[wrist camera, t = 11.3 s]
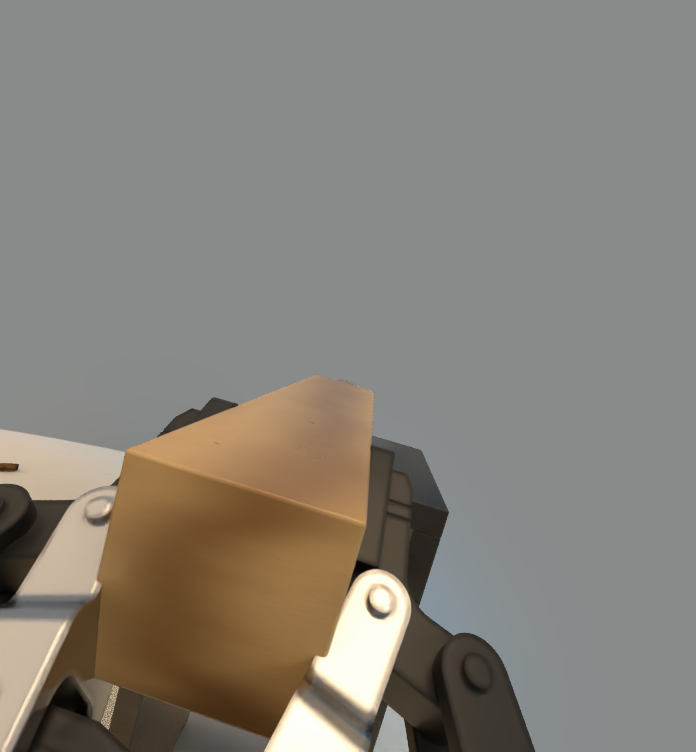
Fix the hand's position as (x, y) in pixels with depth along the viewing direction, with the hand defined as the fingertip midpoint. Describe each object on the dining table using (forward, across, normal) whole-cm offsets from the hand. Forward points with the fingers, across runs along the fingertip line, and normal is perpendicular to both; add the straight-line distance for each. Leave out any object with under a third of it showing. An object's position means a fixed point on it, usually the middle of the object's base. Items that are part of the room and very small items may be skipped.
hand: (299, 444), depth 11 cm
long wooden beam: (+3, 0, +6) cm, 7 cm away
